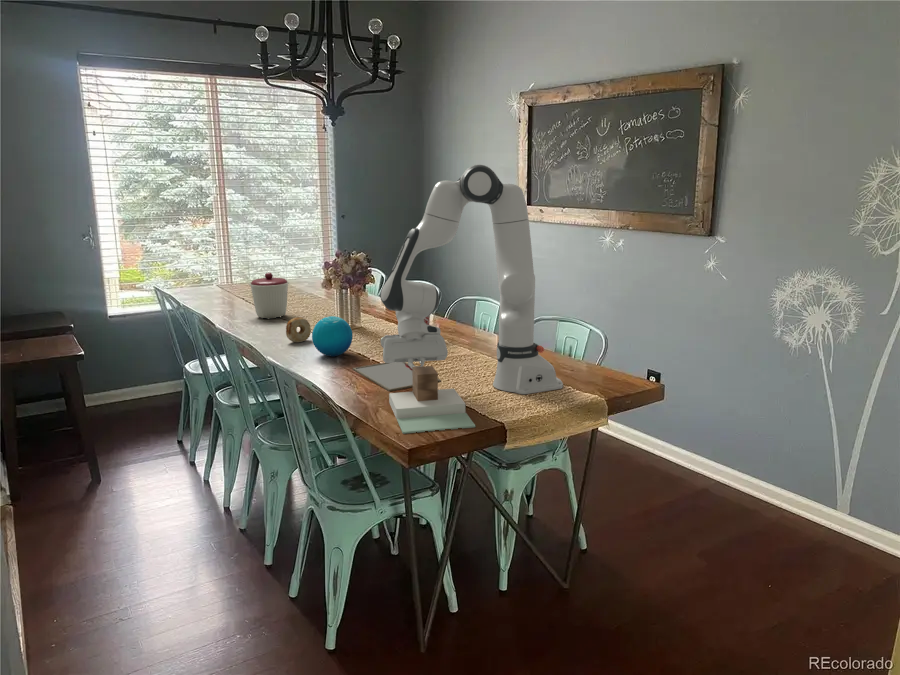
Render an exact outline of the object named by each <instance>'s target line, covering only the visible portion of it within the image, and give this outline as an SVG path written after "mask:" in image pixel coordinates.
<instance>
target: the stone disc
mask: <svg viewBox="0 0 900 675" xmlns="http://www.w3.org/2000/svg"><path fill="white" fill-rule="evenodd" d="M298 327H299V331H298ZM285 335H286V337H287V339H288V340H289V341H290V342H292V343H301V342H304V341H307V340H308V339H309V338H310V336H311V335H312V328H311V324H310V322H309V321H308V319H306V318H304V317H300V316H299V317H298V316H297V317H293V318H290V320H288V322H287V323H286V326H285Z"/></svg>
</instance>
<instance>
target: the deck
mask: <svg viewBox="0 0 900 675" xmlns="http://www.w3.org/2000/svg"><path fill="white" fill-rule="evenodd" d="M388 398H389V400H388V403H389V405H390V407H391V410H392V411H393V414H394V417H395V419H396V420H397V419H400V418H412V417H424V416H436V415H448V414H460V413H466V402H465V401H464V400H463V398H462V396H460V395H459V393H458V392H457V390H456V389H455V388H445V389H443V388H442V389H438V400H428V401H417V399H416V398H415V396H414V394H413V391H405V392H404V391H403V392H390V393H388Z"/></svg>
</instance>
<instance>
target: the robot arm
mask: <svg viewBox="0 0 900 675" xmlns="http://www.w3.org/2000/svg"><path fill="white" fill-rule="evenodd" d="M471 202H472V203H479V204H480V203H481V204H486V205H488V207H489V209H490V213H491V222H492V227H493V228H492V230H493V238H494V239H493V240H494V247H495V259H496V260H495V261H496V271H497V284H498V291H499V296H500V298H499V311H498V312H499V315H498V317H499V318H498V342H497V345H496V346H497V347H496V359H497V365H496V370H495V376H494V379H493V382H492V386H493V387H494V388H495V389H497V390H499V391H500V390H501V391H503V392H504V391H505V392H509V393H516V394H519V395H529V394H535V393H541V392H548V391H554V390H560V389H563V387H564V383H563V381H562V380H561V379H560V378H558V377H557V373H556V369H555V368H554V365H553V364H552V363H550V362H549V361H548V360H547V359H545V358H544V357H543V356H542V355H540V354H542V353H544V351H545V348H544V347H543V346H542V345H540V344H537V343H535V342H534V335H535V334H534V333H535V332H534V331H535V330H534V329H535V298H536V296H535V295H536V275H535V273H534V272H535V271H534V270H535V269H534V262H533V261H534V260H533V249H532V240H531V230H530V219H529V212H528V207H527V200H526V198H525V194H524V191H523V189H522V188H521V186H518V185H517V184H515V183H502V181H501V180H500V178H499V177H498V176H497V174H496V173H495V171H494V170H492V169H491V168H490V167H489V166H488V165H484V164H474V165H471V166H470V167H467V169H465V171H464V172H463V173H462V175H461V176H460V177H459V178H458V179H457V180H455V181H453V180H450V179H449V180H448V179H447V180H440V181H438V182H437V183H435V185H434V186H433V188H432V190H431V193H430V195H429V198H428V200H427V203H426V206H425V210H424V213H423V216H422V219H421V220H420V222H419V223H418V225H417V226H416V227H415V228H414V227H413V228H412V229H410V230H409V231H408V233H407V235H406V237H405V239H404V240H403V242H402V245H401V247H400V249H399V252H398V254H397V256H396V259H395V261H394V263H393V266H392V268H391V271H390V272H389V275H388V277H387V278H386V280H385V281H384V284H383V286H382V289H381V291H380V300H381V302H382V304H383V305H384V307H385V308H387V310H388V311H391V312H395V317H396V319H397V322H398V323H397V333H398V334H385V335H384V336H383V337H381V338H380V346H381V348H383V349H382V360H383V363H400V362H406V363H408V365H409V366H410V368H411V369H412V367H422V366H424V365H425V362H435V361H437V362H438V361H445V360H446V358H447V357H448V353H449V352H448V347H447V344H446V340H445V338H444V336H442V335H441V328H440V327H438V326H435V325H434V326H433V325H430V324H429V325H427V324H425V323H424V318H425V317H428V316H429V315H430V316H431V315H432V314H433V313H434V312H435V311H437V309H438V308H439V306H440V294H439V292H438V288H437V287H436V286H435V285H433V284H431V283H425V282H418V281H413V280H412V281H411V280H407V279H406V278H407V276H408V274H409V272H410V269H411V267H412V264H413V262H414V260H415V258H416V257H417V255H418V254H420V253H421V252H422V251H425V250H429V249H434V248H439V247H442V246H445V245H447V244H449V243H450V242H452V240H453V239H454V238H456V237H455V236H456V235H457V231H458V229H459V226H460V220H461V217H462V213H463V210H464V208H465V206H466V205H467V204H468V203H471ZM539 353H540V354H539ZM415 362H419V364H420V365H417V366H416V365H415V364H414V363H415Z"/></svg>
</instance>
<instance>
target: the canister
mask: <svg viewBox="0 0 900 675" xmlns="http://www.w3.org/2000/svg"><path fill="white" fill-rule="evenodd" d="M288 284H290V281H289V280H287V279H286V278H282V277H274V276H273V273H272V272H266V273H265V274H264V277H262V278H255V279H253V280H252V281H251V282H248V285H249V286H250V289H251V294H252V300H253V304H254V305H253V306H254V310H255V314H256V316H257V317H258V318H259V317H262V318H261V319H263V318H276V317H280V316H283V315H284V316H285V315H286V314H287V305H288V292H289V291H288V290H289V289H288V288H289V285H288ZM284 316H283V317H284ZM280 318H281V317H280ZM276 319H277V318H276Z"/></svg>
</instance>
